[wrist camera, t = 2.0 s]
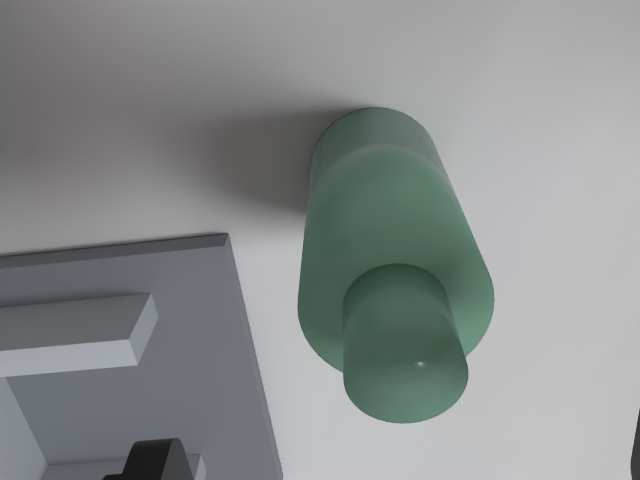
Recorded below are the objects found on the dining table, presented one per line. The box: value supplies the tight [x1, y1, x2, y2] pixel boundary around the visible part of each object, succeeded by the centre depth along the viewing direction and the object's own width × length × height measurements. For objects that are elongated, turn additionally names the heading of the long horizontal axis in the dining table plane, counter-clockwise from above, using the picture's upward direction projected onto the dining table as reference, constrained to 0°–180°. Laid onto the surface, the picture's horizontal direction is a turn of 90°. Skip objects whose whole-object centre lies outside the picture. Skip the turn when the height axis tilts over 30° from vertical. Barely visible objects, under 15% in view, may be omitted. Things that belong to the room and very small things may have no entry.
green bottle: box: [298, 108, 494, 423], centre depth 18 cm, size 5×5×12 cm
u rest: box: [0, 234, 283, 480], centre depth 26 cm, size 14×14×4 cm
